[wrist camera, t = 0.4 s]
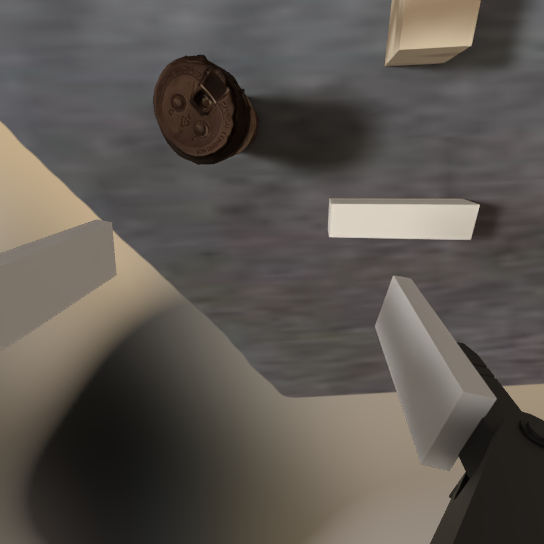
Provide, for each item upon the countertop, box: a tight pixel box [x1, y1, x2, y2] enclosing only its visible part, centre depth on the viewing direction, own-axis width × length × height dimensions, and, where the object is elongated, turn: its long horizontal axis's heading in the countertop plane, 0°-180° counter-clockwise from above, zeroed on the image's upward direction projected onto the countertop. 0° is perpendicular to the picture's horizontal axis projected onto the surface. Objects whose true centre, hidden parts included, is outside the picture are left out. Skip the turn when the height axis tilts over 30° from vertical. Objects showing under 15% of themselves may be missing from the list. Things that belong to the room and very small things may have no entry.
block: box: [385, 0, 481, 66], centre depth 27 cm, size 6×6×6 cm
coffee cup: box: [153, 55, 258, 165], centre depth 30 cm, size 9×8×13 cm
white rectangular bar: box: [328, 198, 480, 240], centre depth 35 cm, size 4×16×4 cm, turn 91°
